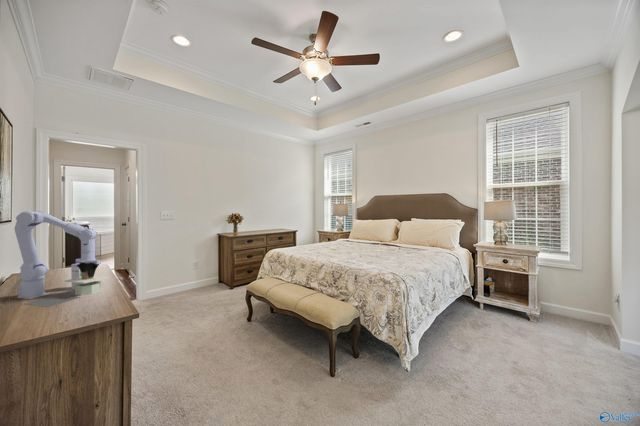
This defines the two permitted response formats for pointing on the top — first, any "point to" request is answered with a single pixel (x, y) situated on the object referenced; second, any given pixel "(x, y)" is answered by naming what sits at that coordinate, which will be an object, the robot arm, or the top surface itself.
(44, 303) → the charcoal mat
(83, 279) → the cover sheet
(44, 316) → the top surface
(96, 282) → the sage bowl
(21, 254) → the robot arm
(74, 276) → the syrup box
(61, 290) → the top surface
